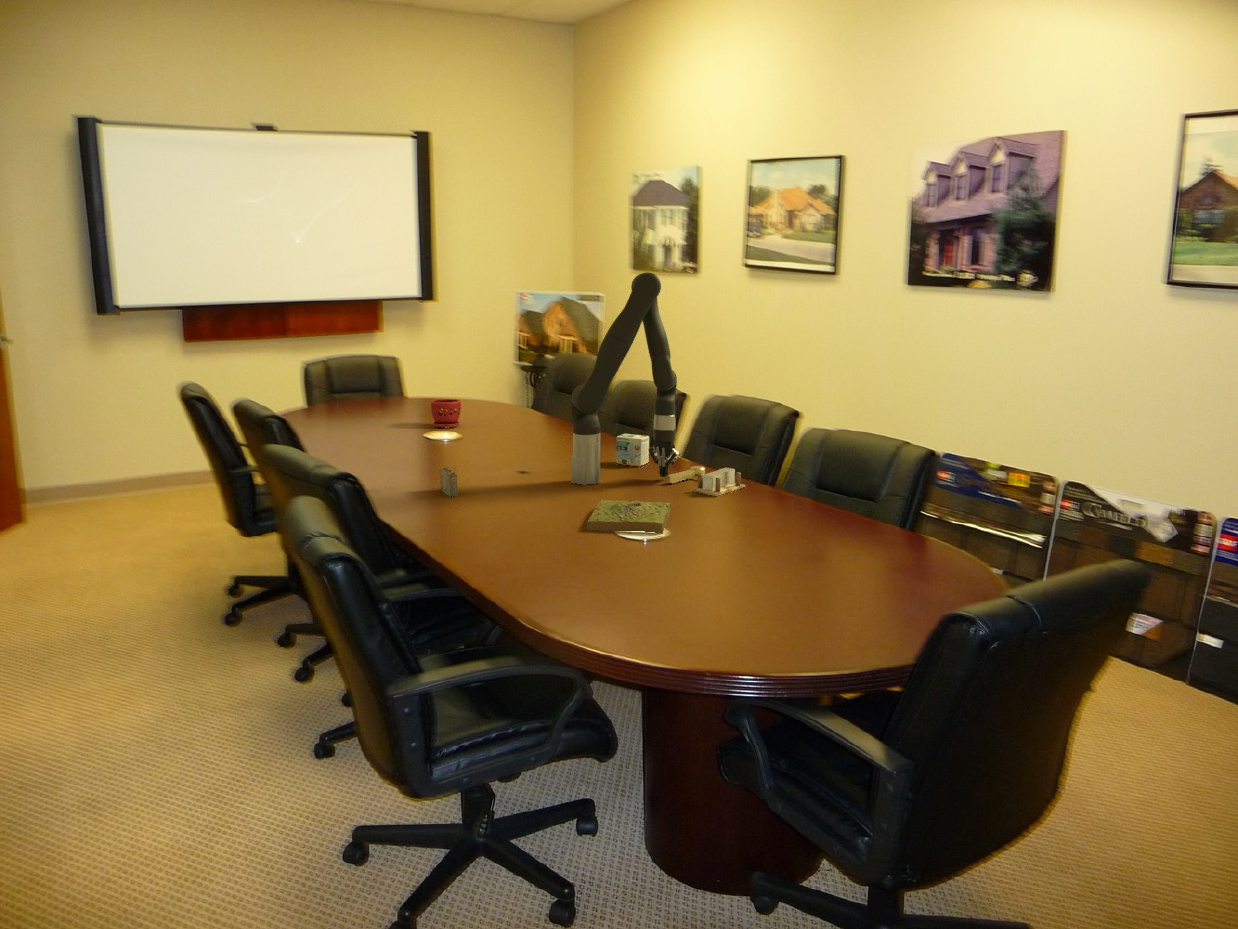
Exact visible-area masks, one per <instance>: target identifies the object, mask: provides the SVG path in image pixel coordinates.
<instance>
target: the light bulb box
mask: <svg viewBox="0 0 1238 929" xmlns="http://www.w3.org/2000/svg"><path fill="white" fill-rule="evenodd" d="M615 441H616V442H615V444H616V445H615V446H616V447H615V448H616V449H615V450H616V451H615V464H616V463H623V464H631V465H639V466H641V465H644V464H646V463H648V462H650V456H649V455H650V452H649V451H648V449H649V448H650V436H649V435H641V434H631V433H623V434H620V435H618V436H616V440H615Z"/></svg>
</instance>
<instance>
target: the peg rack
mask: <svg viewBox="0 0 1238 929" xmlns="http://www.w3.org/2000/svg"><path fill="white" fill-rule="evenodd" d="M720 469H721V468H718V470H720ZM741 475H742V473H741V472H738V471H737V472H736V471H735V482H734V484H732V485H729V486H726V487H723V488H720V481H721V478H716V483H715V491H707V490H703V474H698V481H697V486H696V487H693V488H692V492H693V491H696V492H699V493H698V494H700V493H704V494H708V495H707V496H709V495H713V496H712V497H714V496H718V495H721V494H724V495H726V494H725V493H728V492H731V491H734V490H737V489H740V488H743V487H745V488H746V484H743V483H741V478H742V477H741ZM731 493H732V492H731ZM704 494H703V495H704ZM728 494H729V493H728ZM721 496H722V495H721ZM718 497H719V496H718Z"/></svg>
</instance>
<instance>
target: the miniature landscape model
mask: <svg viewBox="0 0 1238 929" xmlns="http://www.w3.org/2000/svg"><path fill="white" fill-rule="evenodd" d="M671 508H672V506H671V502H665V501H663V502H659V501H657V502H656V501H639V500H634V499H633V500H630V499H629V500H608V499H600V501H598V503H597V505H596V506H595V508H594V510H593V512H592V513H591V515H590V516H589V517H588V520H587V522H586V530H587V531H592V530H599V532H612V531H645V532H655V533H661V534H660V535H663V534H664V532H665V529H664V528H666V526H667V524H666V523H668V521H669V519H670V516H669V515H671V513H672V510H671ZM670 512H671V513H670ZM663 531H664V532H663Z"/></svg>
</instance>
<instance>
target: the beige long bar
mask: <svg viewBox="0 0 1238 929" xmlns="http://www.w3.org/2000/svg"><path fill="white" fill-rule="evenodd" d="M698 474H703V475H704V474H706V467H705V466H703V465H694V466H693V465H692V466H690V469H688V470H683V471H680V472H676V473H672V474H668V475H667V476H666V477H665V478H666V479H665V480H666V481H665V483H666V484H668V483H672V484H676V483H680V482H683V481H682V480H684V481H686V479H688V480H689V478H692V477H695V476H698ZM679 481H680V482H679Z"/></svg>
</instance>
